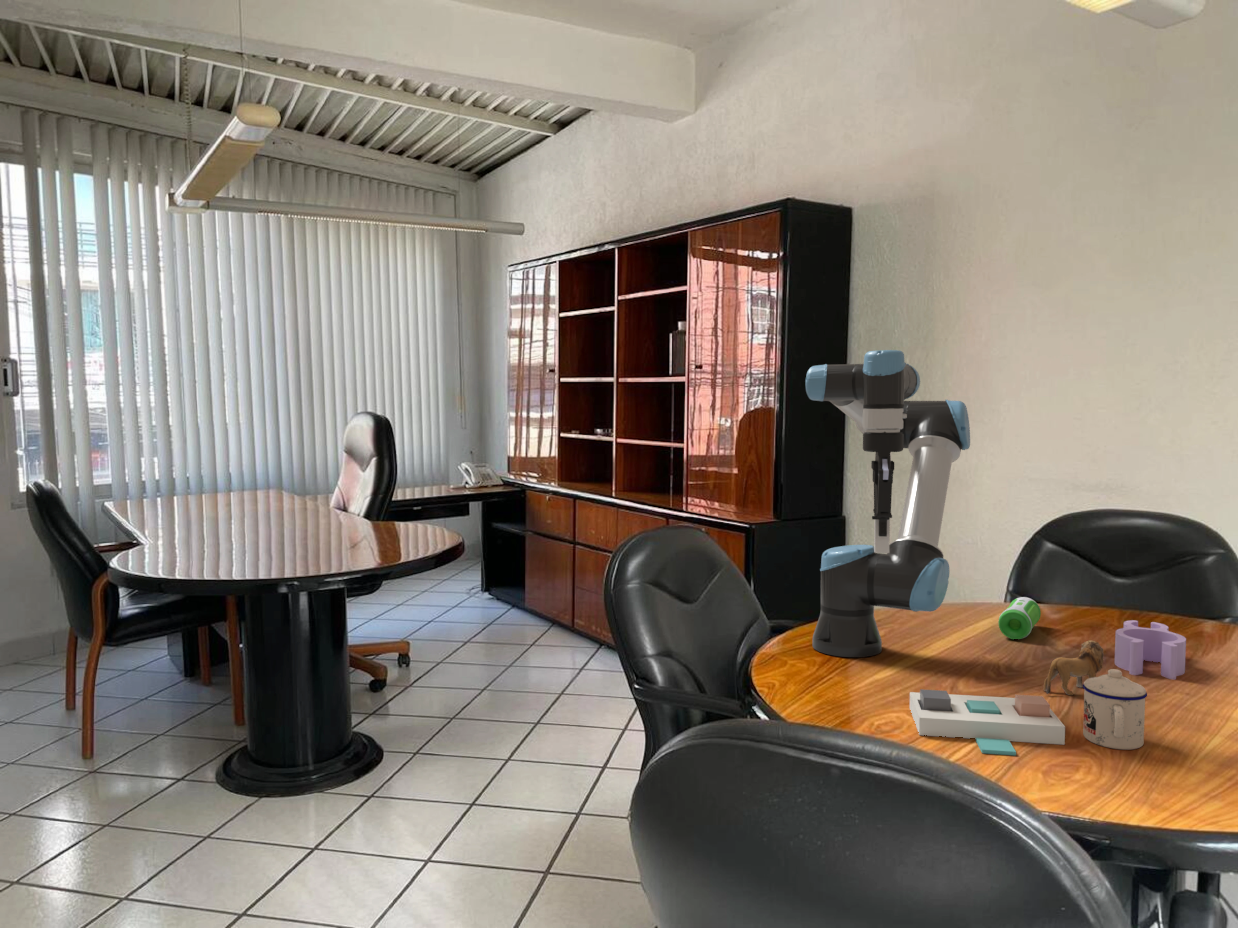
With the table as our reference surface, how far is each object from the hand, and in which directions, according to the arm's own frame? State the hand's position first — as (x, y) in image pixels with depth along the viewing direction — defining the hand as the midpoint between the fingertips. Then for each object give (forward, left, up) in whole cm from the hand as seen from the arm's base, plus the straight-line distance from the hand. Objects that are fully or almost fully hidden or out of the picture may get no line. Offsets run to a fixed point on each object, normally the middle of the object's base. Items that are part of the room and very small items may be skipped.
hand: (881, 552), depth 169 cm
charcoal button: (+19, +7, -25) cm, 32 cm away
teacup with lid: (+23, +34, -27) cm, 49 cm away
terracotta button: (+19, +23, -25) cm, 39 cm away
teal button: (+19, +15, -26) cm, 36 cm away
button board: (+19, +15, -26) cm, 36 cm away
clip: (-24, +56, -27) cm, 67 cm away
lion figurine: (-4, +36, -27) cm, 45 cm away
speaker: (-46, +36, -27) cm, 64 cm away
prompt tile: (+29, +15, -26) cm, 42 cm away
